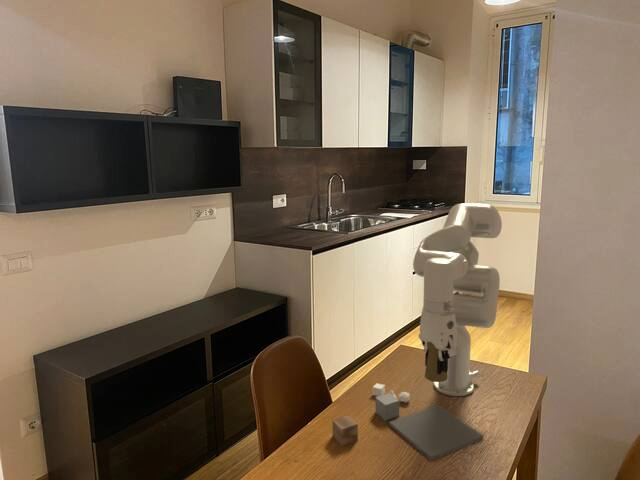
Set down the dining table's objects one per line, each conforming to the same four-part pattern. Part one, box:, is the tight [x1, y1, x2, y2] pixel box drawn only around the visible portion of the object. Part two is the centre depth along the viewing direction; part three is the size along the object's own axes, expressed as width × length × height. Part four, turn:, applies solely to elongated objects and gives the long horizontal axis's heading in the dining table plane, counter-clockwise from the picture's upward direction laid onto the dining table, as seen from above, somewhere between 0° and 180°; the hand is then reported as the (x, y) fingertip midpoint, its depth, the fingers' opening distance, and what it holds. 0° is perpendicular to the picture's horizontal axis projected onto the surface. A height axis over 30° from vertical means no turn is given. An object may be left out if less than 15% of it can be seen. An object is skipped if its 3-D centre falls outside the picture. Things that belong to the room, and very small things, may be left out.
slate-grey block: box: [374, 392, 400, 421], centre depth 144 cm, size 5×5×5 cm
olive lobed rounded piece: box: [424, 342, 448, 383], centre depth 130 cm, size 6×6×11 cm
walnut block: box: [332, 414, 359, 447], centre depth 132 cm, size 5×5×5 cm
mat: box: [388, 404, 484, 461], centre depth 135 cm, size 18×18×1 cm
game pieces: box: [372, 382, 411, 404], centre depth 153 cm, size 12×3×3 cm, turn 57°
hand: (436, 368), depth 131 cm, fingers closed on olive lobed rounded piece, 4 cm apart
